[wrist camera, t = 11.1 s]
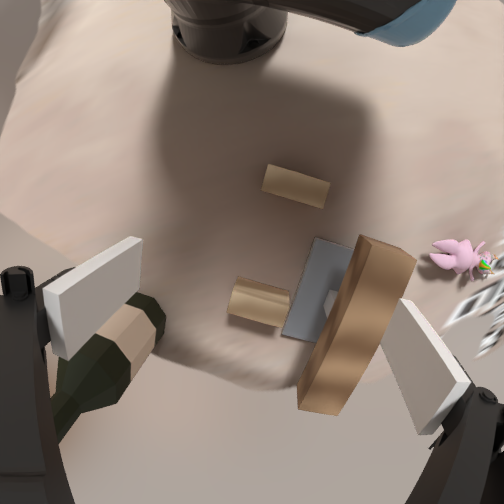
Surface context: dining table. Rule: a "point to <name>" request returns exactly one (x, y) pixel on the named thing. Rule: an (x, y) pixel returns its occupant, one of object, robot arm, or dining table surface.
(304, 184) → the board
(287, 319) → the fulcrum
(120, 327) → the wine bottle
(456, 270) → the rabbit figure
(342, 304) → the walnut beam
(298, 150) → the dining table surface
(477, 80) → the dining table surface
